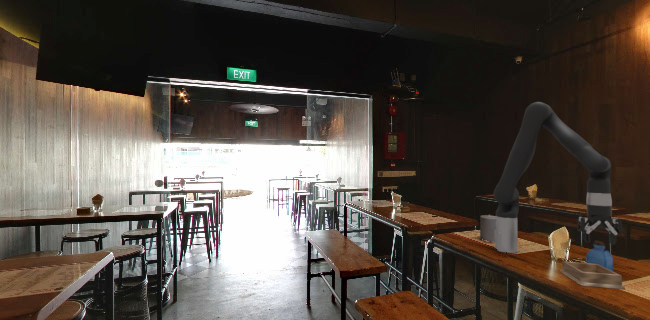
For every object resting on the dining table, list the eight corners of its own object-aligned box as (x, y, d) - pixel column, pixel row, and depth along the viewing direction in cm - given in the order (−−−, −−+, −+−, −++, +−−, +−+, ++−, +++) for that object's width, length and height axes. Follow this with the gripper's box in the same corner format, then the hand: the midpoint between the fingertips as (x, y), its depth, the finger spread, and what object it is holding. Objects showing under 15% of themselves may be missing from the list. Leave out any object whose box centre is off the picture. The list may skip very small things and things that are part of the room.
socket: (581, 285, 103) (581, 272, 103) (560, 271, 115) (560, 260, 115) (624, 289, 100) (624, 276, 100) (598, 275, 112) (598, 263, 112)
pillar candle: (476, 238, 167) (476, 213, 167) (491, 237, 168) (491, 212, 168) (487, 243, 157) (487, 216, 157) (503, 242, 158) (503, 216, 158)
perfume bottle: (606, 274, 113) (606, 244, 113) (586, 269, 118) (586, 241, 118) (612, 272, 115) (612, 242, 116) (593, 267, 121) (592, 239, 121)
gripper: (584, 204, 115) (585, 244, 115) (627, 205, 112) (628, 246, 111) (573, 202, 122) (573, 239, 122) (612, 203, 119) (613, 241, 119)
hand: (599, 243), depth 117 cm, fingers open, 8 cm apart
